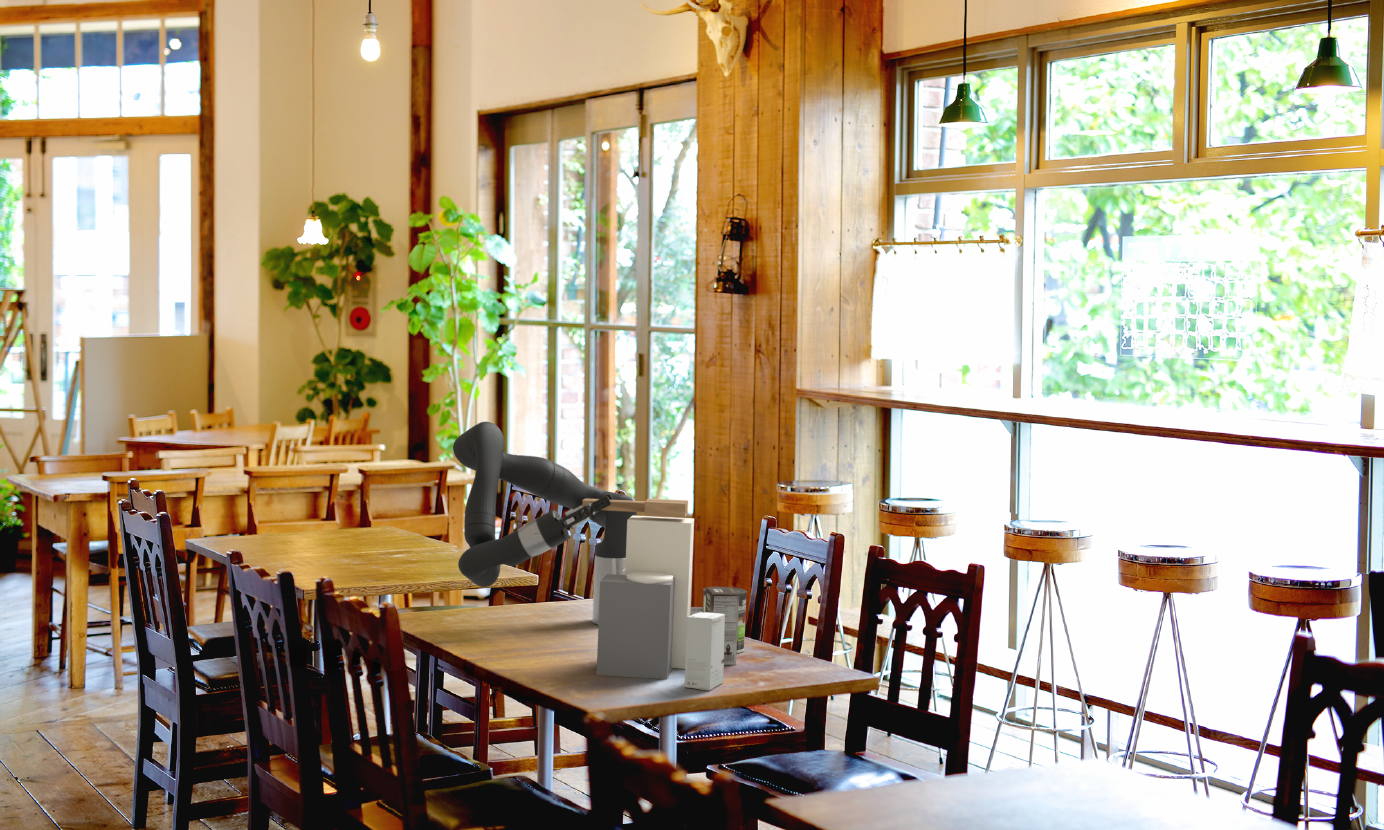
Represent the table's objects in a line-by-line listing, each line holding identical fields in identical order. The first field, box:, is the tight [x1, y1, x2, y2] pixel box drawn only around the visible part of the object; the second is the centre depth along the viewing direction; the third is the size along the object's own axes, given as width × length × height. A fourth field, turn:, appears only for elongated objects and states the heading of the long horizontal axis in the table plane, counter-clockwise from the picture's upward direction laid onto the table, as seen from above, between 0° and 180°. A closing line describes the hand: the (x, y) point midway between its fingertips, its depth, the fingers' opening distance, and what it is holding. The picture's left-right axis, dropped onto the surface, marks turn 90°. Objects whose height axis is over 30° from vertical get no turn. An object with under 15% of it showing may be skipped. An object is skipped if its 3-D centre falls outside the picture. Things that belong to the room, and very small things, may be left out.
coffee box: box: [705, 586, 739, 666], centre depth 295 cm, size 9×6×16 cm
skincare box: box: [684, 612, 725, 692], centre depth 271 cm, size 8×6×15 cm
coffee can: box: [702, 587, 748, 654], centre depth 307 cm, size 10×10×14 cm
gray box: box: [596, 572, 675, 680], centre depth 281 cm, size 10×15×21 cm, turn 86°
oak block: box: [582, 498, 689, 518], centre depth 290 cm, size 7×23×3 cm, turn 86°
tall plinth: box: [625, 515, 695, 670], centre depth 290 cm, size 9×14×32 cm, turn 86°
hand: (610, 498), depth 290 cm, fingers closed on oak block, 4 cm apart
